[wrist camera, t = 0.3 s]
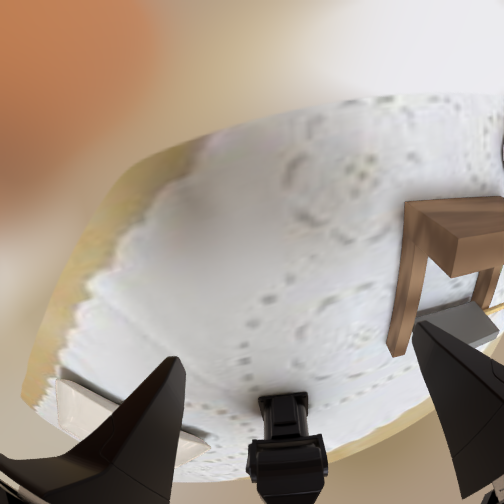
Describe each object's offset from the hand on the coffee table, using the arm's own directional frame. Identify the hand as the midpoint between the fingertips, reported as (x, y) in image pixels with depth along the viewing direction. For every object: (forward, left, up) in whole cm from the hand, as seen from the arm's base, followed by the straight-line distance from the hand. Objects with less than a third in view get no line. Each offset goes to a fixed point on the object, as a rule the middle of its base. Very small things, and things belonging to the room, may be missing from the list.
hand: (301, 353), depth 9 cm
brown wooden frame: (-8, -20, -14) cm, 26 cm away
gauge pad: (-13, -21, -13) cm, 28 cm away
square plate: (-37, +32, -15) cm, 51 cm away
